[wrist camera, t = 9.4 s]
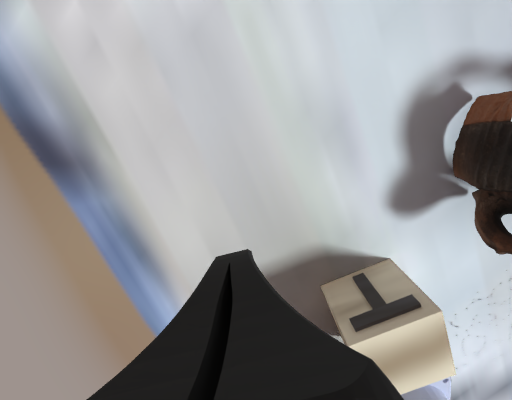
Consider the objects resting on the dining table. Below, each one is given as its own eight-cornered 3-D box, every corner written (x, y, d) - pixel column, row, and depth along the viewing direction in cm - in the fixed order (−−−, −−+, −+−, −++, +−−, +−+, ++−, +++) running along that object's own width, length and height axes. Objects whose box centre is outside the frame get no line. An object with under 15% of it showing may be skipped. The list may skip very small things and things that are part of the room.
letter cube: (404, 311, 24) (456, 374, 19) (340, 335, 25) (372, 404, 19) (388, 254, 22) (441, 307, 17) (318, 282, 23) (347, 343, 17)
